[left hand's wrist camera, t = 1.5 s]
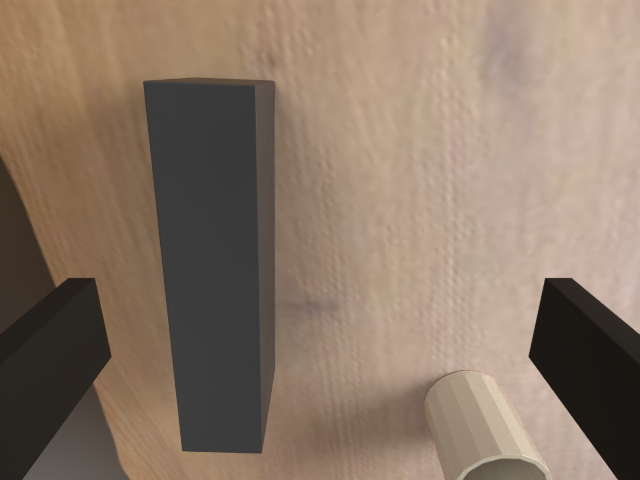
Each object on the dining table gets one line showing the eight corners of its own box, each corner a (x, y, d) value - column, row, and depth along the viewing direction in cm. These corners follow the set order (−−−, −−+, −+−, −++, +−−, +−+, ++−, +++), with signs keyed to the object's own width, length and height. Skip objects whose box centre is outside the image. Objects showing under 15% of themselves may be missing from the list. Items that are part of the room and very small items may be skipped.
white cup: (429, 368, 38) (459, 453, 30) (510, 371, 38) (563, 456, 30) (419, 431, 41) (445, 524, 32) (495, 433, 41) (540, 527, 33)
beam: (193, 77, 29) (142, 80, 21) (274, 80, 29) (255, 85, 21) (212, 367, 38) (182, 451, 30) (274, 369, 38) (261, 453, 30)
